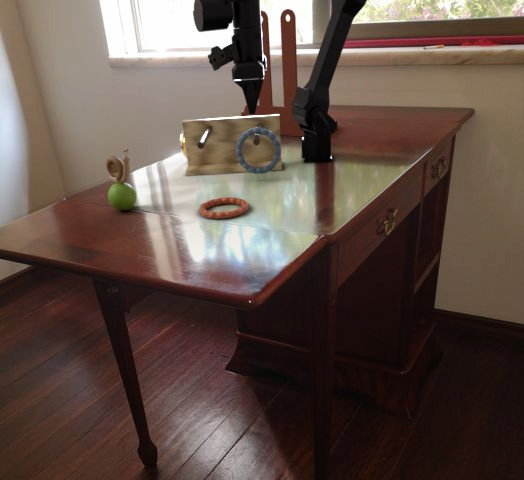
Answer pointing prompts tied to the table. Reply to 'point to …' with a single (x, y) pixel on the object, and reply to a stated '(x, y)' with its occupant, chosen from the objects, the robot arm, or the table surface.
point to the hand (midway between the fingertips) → (253, 109)
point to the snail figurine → (120, 183)
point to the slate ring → (269, 135)
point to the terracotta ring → (223, 214)
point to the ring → (183, 144)
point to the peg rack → (229, 144)
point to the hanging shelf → (289, 75)
